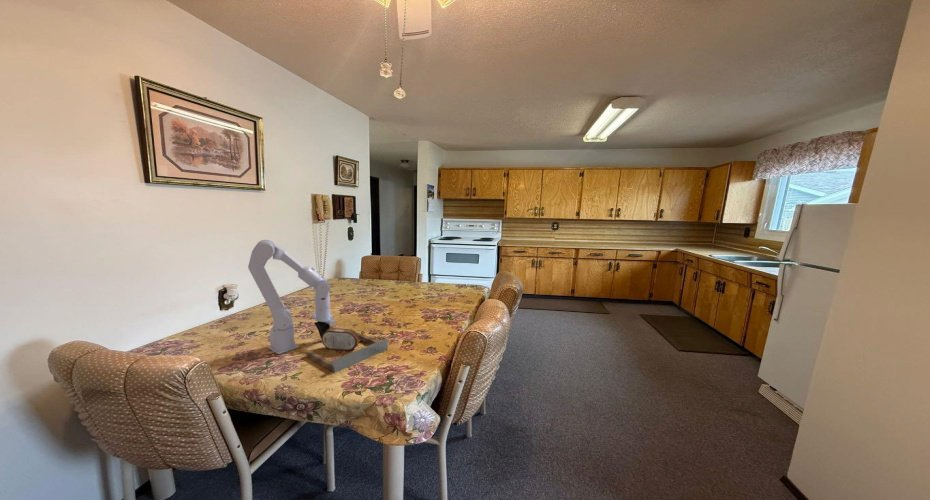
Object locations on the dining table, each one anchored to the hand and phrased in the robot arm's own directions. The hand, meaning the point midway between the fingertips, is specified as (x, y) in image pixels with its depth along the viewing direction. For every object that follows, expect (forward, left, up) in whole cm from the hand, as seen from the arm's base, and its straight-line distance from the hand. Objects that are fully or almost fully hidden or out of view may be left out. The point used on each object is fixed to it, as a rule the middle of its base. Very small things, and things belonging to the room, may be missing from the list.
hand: (323, 337), depth 129 cm
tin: (+12, 0, -2) cm, 13 cm away
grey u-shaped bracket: (+17, 0, -1) cm, 18 cm away
